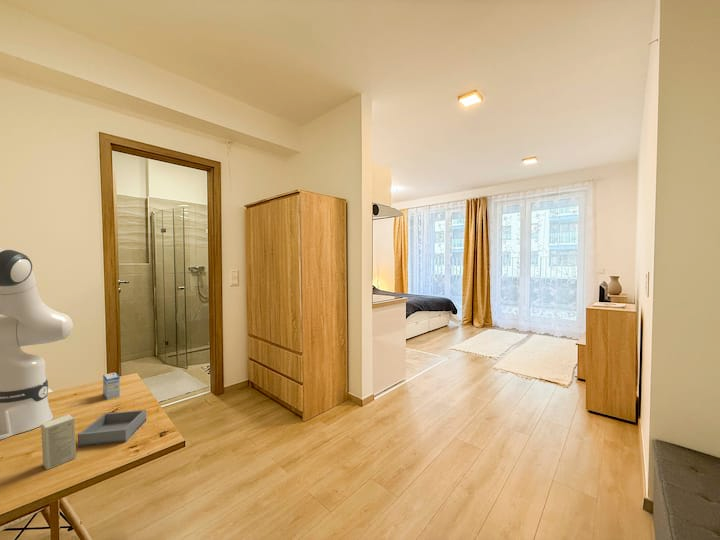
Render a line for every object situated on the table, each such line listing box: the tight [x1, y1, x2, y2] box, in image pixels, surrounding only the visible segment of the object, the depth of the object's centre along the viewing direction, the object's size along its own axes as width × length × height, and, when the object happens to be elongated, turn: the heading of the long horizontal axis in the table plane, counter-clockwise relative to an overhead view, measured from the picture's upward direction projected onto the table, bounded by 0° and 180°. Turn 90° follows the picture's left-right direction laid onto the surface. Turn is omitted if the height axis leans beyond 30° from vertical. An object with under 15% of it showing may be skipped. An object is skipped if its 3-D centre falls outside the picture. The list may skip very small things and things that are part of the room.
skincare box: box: [40, 413, 77, 471], centre depth 84 cm, size 6×4×12 cm
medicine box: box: [102, 372, 121, 400], centre depth 126 cm, size 8×4×9 cm, turn 50°
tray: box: [77, 409, 147, 448], centre depth 98 cm, size 13×13×4 cm
